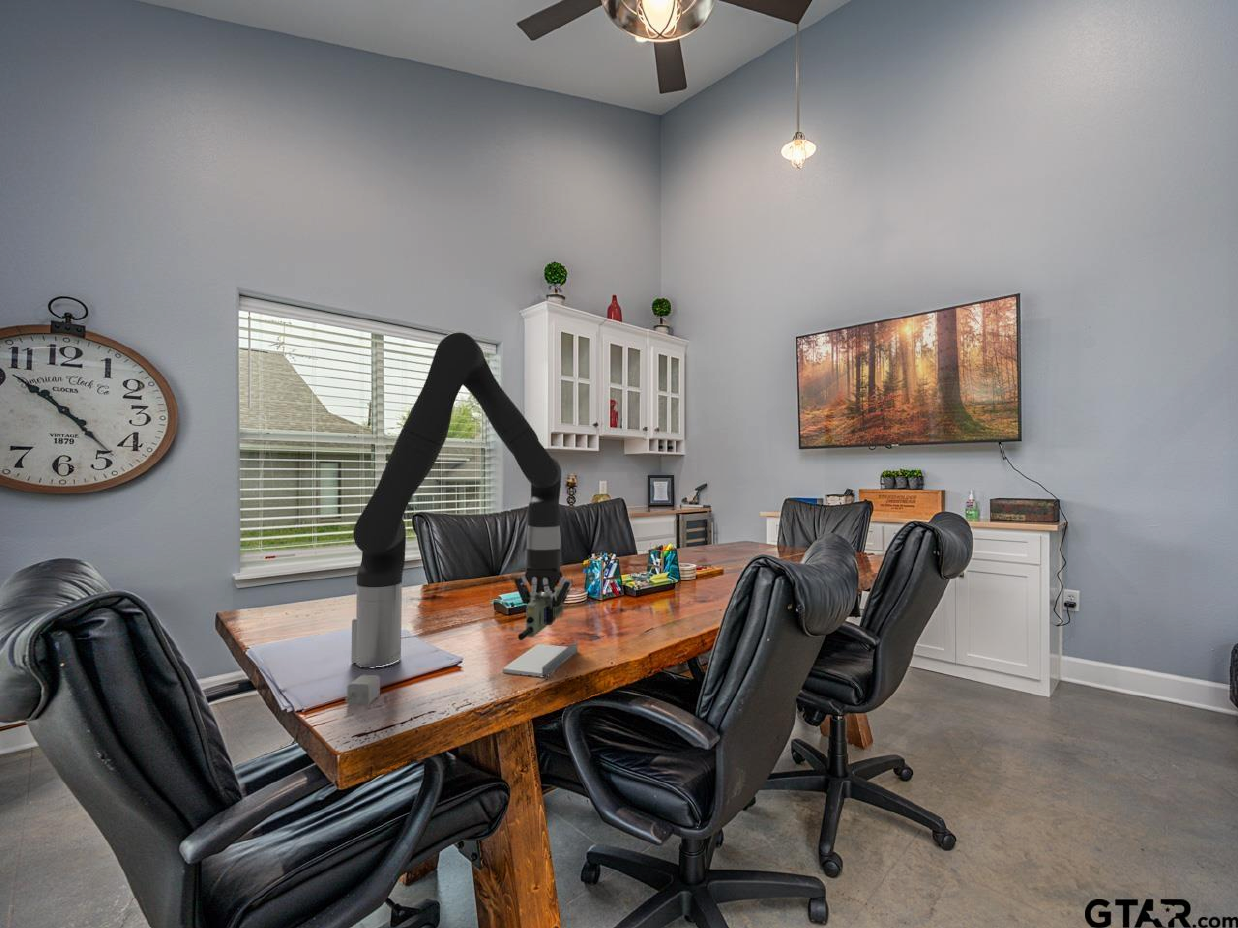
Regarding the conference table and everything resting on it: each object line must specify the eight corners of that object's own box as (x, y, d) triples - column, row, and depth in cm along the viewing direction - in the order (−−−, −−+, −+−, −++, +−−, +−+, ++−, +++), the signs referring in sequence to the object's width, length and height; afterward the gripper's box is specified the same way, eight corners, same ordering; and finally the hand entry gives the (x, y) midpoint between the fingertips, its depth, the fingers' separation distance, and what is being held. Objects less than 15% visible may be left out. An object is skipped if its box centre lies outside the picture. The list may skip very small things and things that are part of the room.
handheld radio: (564, 614, 142) (528, 644, 118) (551, 613, 143) (513, 642, 118) (565, 586, 142) (529, 610, 118) (552, 586, 143) (514, 609, 119)
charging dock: (502, 672, 123) (502, 662, 123) (538, 647, 140) (538, 638, 140) (546, 677, 120) (546, 667, 120) (577, 651, 138) (577, 642, 138)
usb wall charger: (379, 696, 109) (380, 675, 109) (362, 712, 102) (362, 689, 102) (358, 696, 110) (359, 674, 110) (339, 711, 103) (340, 688, 103)
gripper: (507, 546, 129) (506, 625, 129) (566, 549, 125) (566, 631, 125) (522, 542, 136) (521, 617, 136) (579, 545, 132) (578, 622, 132)
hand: (543, 623), depth 130 cm, fingers closed on handheld radio, 2 cm apart
